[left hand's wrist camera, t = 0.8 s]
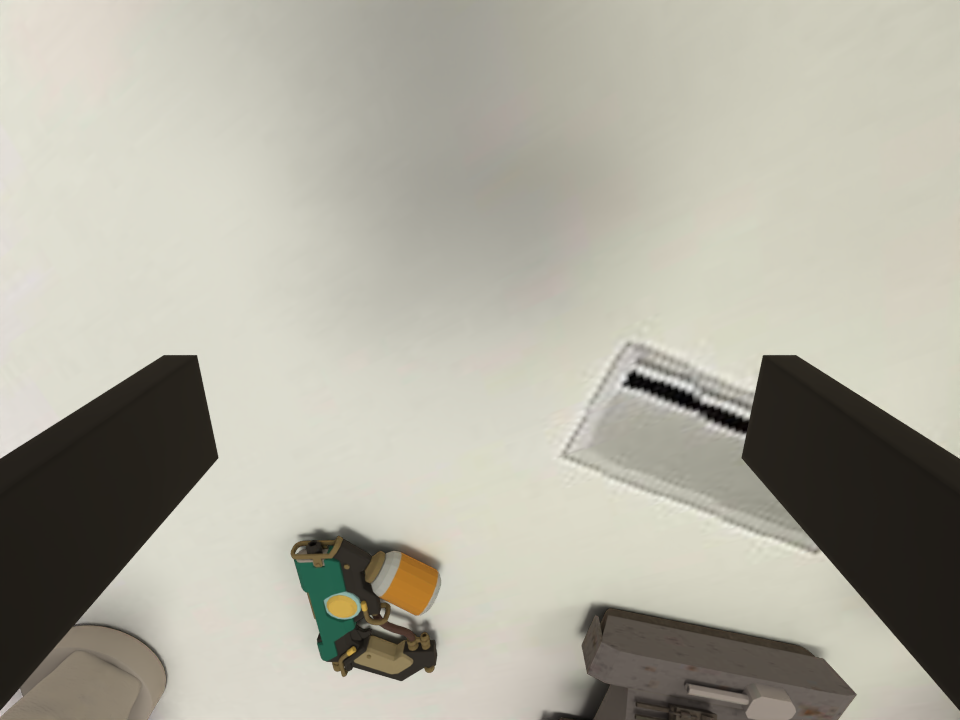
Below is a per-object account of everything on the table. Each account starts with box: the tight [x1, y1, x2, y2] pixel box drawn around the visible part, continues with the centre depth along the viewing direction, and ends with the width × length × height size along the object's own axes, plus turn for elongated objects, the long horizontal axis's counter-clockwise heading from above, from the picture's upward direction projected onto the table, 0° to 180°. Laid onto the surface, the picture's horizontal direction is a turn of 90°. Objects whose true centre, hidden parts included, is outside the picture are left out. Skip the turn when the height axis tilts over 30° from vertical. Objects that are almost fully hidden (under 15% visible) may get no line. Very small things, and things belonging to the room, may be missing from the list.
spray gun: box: [291, 536, 441, 681], centre depth 50 cm, size 4×17×15 cm
